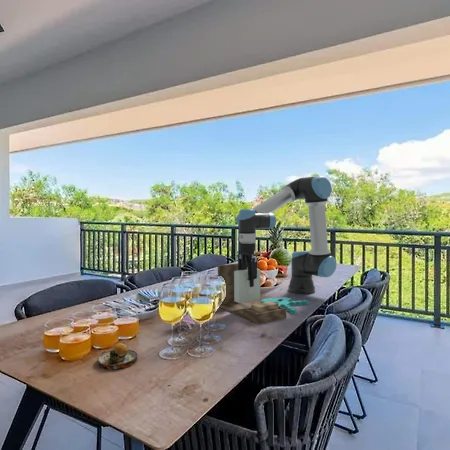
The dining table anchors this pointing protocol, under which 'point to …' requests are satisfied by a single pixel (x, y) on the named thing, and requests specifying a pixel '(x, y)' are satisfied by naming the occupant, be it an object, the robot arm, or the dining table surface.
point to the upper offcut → (264, 307)
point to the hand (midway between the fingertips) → (247, 292)
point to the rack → (245, 307)
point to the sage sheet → (245, 287)
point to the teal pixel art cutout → (286, 303)
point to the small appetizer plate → (117, 358)
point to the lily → (187, 320)
